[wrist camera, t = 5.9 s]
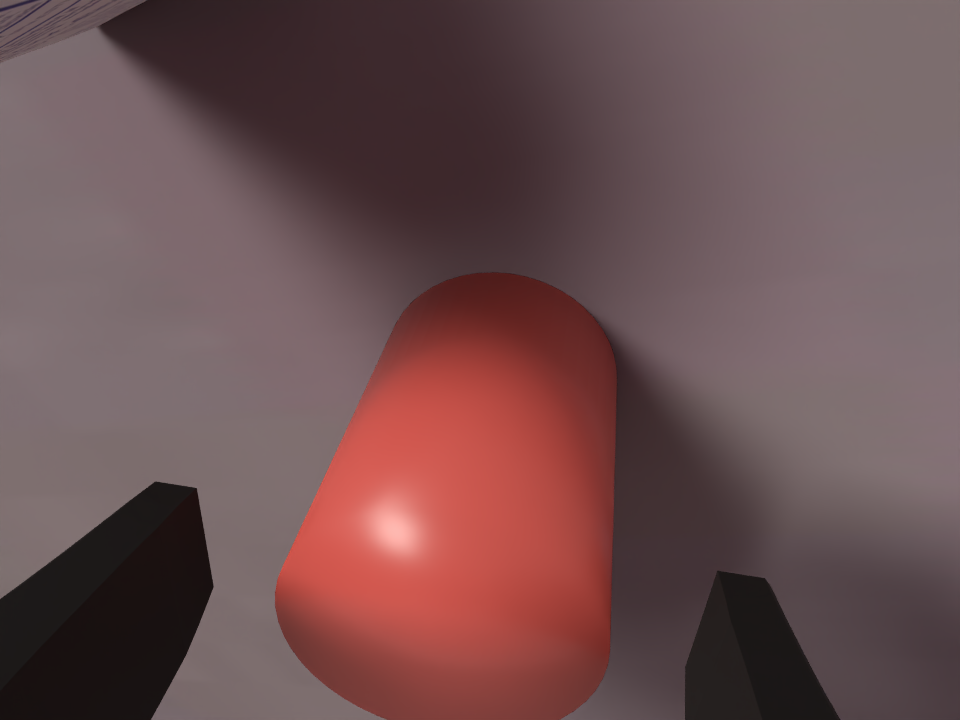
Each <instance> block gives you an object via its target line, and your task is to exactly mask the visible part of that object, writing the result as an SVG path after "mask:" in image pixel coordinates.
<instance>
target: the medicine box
mask: <svg viewBox="0 0 960 720" xmlns="http://www.w3.org/2000/svg"><path fill="white" fill-rule="evenodd" d="M145 1H147V0H0V63H1V62H4V61H6V60H9V59H11V58H14V57H17V56H20V55H23V54H25V53H28V52H31V51H34V50H37V49H39V48H42V47H45V46H48V45H51V44H53V43H56V42H59V41H62V40H64V39H67V38H69V37H72V36H75V35H77V34H80V33H83V32H85V31H88V30H90V29H92V28H95V27H97V26H99V25H101V24H103V23H105V22H107V21H109V20H110V19H112V18H114V17H116V16H118V15H120V14H122V13H124V12H125V11H127V10H129V9H131V8H133V7H135V6H137V5H139V4H141V3H143V2H145Z"/></svg>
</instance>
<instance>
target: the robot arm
mask: <svg viewBox="0 0 960 720" xmlns="http://www.w3.org/2000/svg"><path fill="white" fill-rule="evenodd" d="M213 587H214V586H213V580H212V575H211V569H210V563H209V557H208V551H207V545H206V540H205V534H204V528H203V522H202V516H201V511H200V505H199V499H198V493H197V488H193V487H187V486H180V485H174V484H168V483H161V482H154V483H153V484H151V485H150V486H149V487H148V488H146V489H145V490H143V491H142V492H141V493H139V494H138V495H137V496H135V497H134V498H133V499H131V500H130V501H129V502H128V503H126V504H125V505H124V506H122V507H121V508H120V509H119V510H117V511H116V512H115V513H113V514H112V515H111V516H110V517H108V518H107V519H106V520H104V521H103V522H102V523H101V524H99V525H98V526H97V527H95V528H94V529H93V530H92V531H90V532H89V533H88V534H86V535H85V536H84V537H82V538H81V539H80V540H79V541H77V542H76V543H75V544H73V545H72V546H71V547H70V548H68V549H67V550H66V551H64V552H63V553H62V554H60V555H59V556H58V557H56V558H55V559H54V560H52V561H51V562H50V563H48V564H47V565H46V566H44V567H43V568H42V569H40V570H39V571H38V572H36V573H35V574H34V575H32V576H31V577H30V578H28V579H27V580H26V581H24V582H23V583H22V584H20V585H19V586H18V587H16V588H15V589H13V590H12V591H11V592H9V593H8V594H7V595H5V596H4V597H2V598H1V599H0V720H151V718H152V717H153V715H154V713H155V711H156V709H157V708H158V706H159V704H160V702H161V700H162V699H163V697H164V695H165V693H166V691H167V689H168V688H169V686H170V684H171V682H172V680H173V678H174V677H175V675H176V673H177V671H178V669H179V667H180V665H181V664H182V662H183V660H184V658H185V656H186V654H187V652H188V649H189V647H190V645H191V642H192V640H193V637H194V635H195V633H196V630H197V628H198V626H199V623H200V620H201V618H202V615H203V613H204V610H205V608H206V605H207V603H208V600H209V597H210V595H211V592H212V590H213ZM685 720H840V718H839V717H838V715H837V713H836V711H835V710H834V708H833V706H832V705H831V703H830V701H829V699H828V697H827V696H826V694H825V692H824V690H823V688H822V687H821V685H820V683H819V681H818V679H817V677H816V675H815V674H814V672H813V670H812V668H811V666H810V664H809V662H808V660H807V658H806V656H805V655H804V653H803V651H802V649H801V647H800V645H799V643H798V641H797V639H796V637H795V635H794V633H793V631H792V629H791V627H790V625H789V623H788V621H787V619H786V617H785V615H784V613H783V611H782V609H781V607H780V605H779V603H778V601H777V598H776V596H775V594H774V592H773V590H772V588H771V586H770V585H769V583H768V582H767V581H766V579H765V578H759V577H753V576H746V575H740V574H734V573H728V572H721V571H717V574H716V577H715V580H714V583H713V586H712V589H711V592H710V595H709V598H708V601H707V604H706V607H705V610H704V613H703V616H702V619H701V622H700V625H699V628H698V631H697V634H696V637H695V640H694V643H693V646H692V649H691V652H690V655H689V658H688V661H687V664H686V667H685Z"/></svg>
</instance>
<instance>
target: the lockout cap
mask: <svg viewBox="0 0 960 720" xmlns="http://www.w3.org/2000/svg"><path fill="white" fill-rule="evenodd" d="M616 401H617V368H616V363H615V358H614V353H613V351H612V348H611V345H610V343H609V340H608V339H607V337H606V335H605V333H604V331H603V330H602V328H601V327H600V325H599V324H598V323H597V321H596V320H595V319H594V317H593V316H592V315H591V314H590V313H589V312H588V311H587V310H586V309H585V308H584V307H583V306H582V305H580V304H579V303H578V302H577V301H575V300H574V299H573V298H571V297H570V296H568V295H567V294H565V293H563V292H562V291H560V290H558V289H557V288H555V287H553V286H550V285H548V284H546V283H544V282H541V281H538V280H535V279H532V278H529V277H525V276H520V275H515V274H509V273H495V272H492V273H475V274H470V275H464V276H460V277H456V278H453V279H450V280H447V281H444V282H442V283H440V284H438V285H436V286H434V287H432V288H430V289H429V290H427V291H426V292H424V293H422V294H421V295H420V296H419V297H418V298H416V299H415V300H414V301H413V302H412V303H411V304H410V305H409V306H408V307H407V308H406V310H405V311H404V312H403V313H402V315H401V316H400V318H399V320H398V321H397V323H396V325H395V327H394V329H393V331H392V333H391V335H390V337H389V340H388V342H387V344H386V346H385V348H384V350H383V352H382V355H381V357H380V359H379V361H378V363H377V365H376V367H375V370H374V372H373V374H372V376H371V378H370V380H369V382H368V385H367V387H366V389H365V391H364V393H363V395H362V398H361V400H360V402H359V404H358V406H357V408H356V410H355V413H354V415H353V417H352V419H351V421H350V423H349V425H348V428H347V430H346V432H345V434H344V436H343V438H342V440H341V443H340V445H339V447H338V449H337V451H336V453H335V455H334V458H333V460H332V462H331V464H330V466H329V468H328V471H327V473H326V475H325V477H324V479H323V481H322V483H321V486H320V488H319V490H318V492H317V494H316V496H315V498H314V501H313V503H312V505H311V507H310V509H309V511H308V513H307V516H306V518H305V520H304V522H303V524H302V526H301V528H300V531H299V533H298V535H297V537H296V539H295V541H294V543H293V546H292V548H291V550H290V552H289V554H288V556H287V559H286V561H285V563H284V565H283V567H282V570H281V572H280V575H279V577H278V580H277V586H276V591H275V608H276V612H277V617H278V622H279V624H280V627H281V630H282V632H283V635H284V637H285V639H286V640H287V642H288V644H289V646H290V647H291V649H292V650H293V652H294V653H295V654H296V656H297V657H298V658H299V660H300V661H301V662H302V663H303V665H304V666H305V667H306V668H307V669H308V670H309V671H310V672H311V673H312V674H313V675H314V676H315V677H316V678H318V679H319V680H320V681H321V682H322V683H323V684H325V685H326V686H327V687H328V688H330V689H331V690H333V691H334V692H335V693H337V694H338V695H340V696H341V697H343V698H344V699H346V700H348V701H350V702H351V703H353V704H355V705H356V706H358V707H360V708H362V709H364V710H366V711H368V712H371V713H373V714H375V715H377V716H380V717H382V718H385V719H387V720H559V719H561V718H563V717H565V716H566V715H568V714H570V713H571V712H573V711H575V710H576V709H577V708H578V707H580V706H581V705H582V704H583V703H585V702H586V701H587V700H588V698H589V697H590V696H591V695H592V694H593V693H594V692H595V691H596V689H597V687H598V686H599V684H600V682H601V681H602V679H603V677H604V674H605V671H606V669H607V666H608V661H609V653H610V629H611V591H612V553H613V515H614V477H615V439H616Z"/></svg>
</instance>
